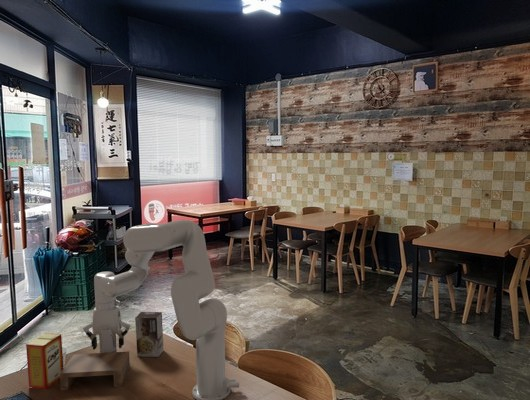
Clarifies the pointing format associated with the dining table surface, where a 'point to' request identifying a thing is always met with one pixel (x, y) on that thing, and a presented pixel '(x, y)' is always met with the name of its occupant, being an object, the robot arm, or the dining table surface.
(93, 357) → the walnut stand
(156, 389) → the dining table surface
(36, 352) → the baking soda box
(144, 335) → the coffee box
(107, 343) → the energy drink can
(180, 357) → the dining table surface
